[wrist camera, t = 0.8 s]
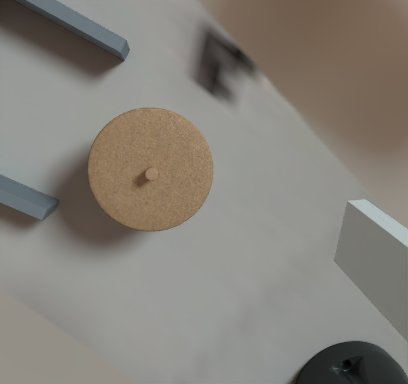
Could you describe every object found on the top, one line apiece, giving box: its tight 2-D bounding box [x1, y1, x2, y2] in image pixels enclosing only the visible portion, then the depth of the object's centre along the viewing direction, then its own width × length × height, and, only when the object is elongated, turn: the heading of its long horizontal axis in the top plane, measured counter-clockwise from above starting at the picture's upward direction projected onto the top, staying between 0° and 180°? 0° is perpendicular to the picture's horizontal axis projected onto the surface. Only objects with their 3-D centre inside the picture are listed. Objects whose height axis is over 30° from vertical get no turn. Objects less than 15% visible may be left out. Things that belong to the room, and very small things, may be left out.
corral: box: [0, 0, 130, 220], centre depth 32 cm, size 14×18×4 cm
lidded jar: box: [87, 108, 213, 231], centre depth 33 cm, size 11×11×9 cm
